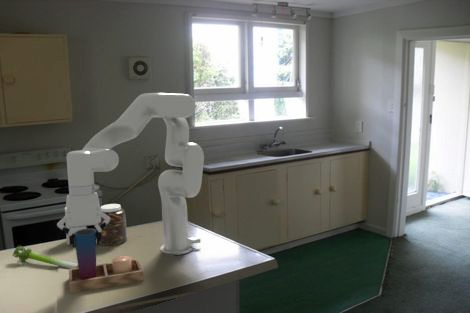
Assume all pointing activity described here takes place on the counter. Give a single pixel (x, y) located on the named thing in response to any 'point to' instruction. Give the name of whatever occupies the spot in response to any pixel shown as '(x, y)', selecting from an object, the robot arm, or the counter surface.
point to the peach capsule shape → (122, 265)
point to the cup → (86, 252)
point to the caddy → (104, 277)
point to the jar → (113, 225)
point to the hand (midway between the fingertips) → (85, 244)
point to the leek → (41, 258)
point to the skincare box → (73, 231)
